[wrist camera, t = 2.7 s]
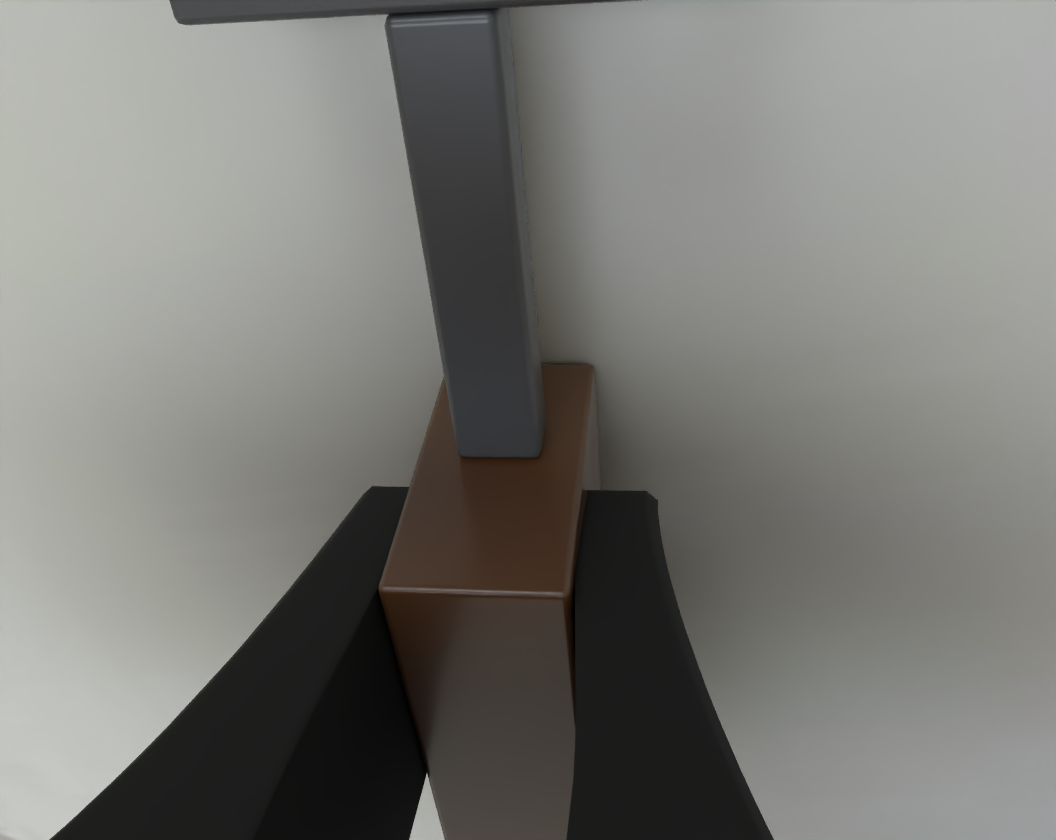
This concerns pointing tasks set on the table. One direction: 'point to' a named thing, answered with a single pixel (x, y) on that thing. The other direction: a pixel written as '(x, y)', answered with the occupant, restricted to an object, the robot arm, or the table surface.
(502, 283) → the fork
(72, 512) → the table surface
